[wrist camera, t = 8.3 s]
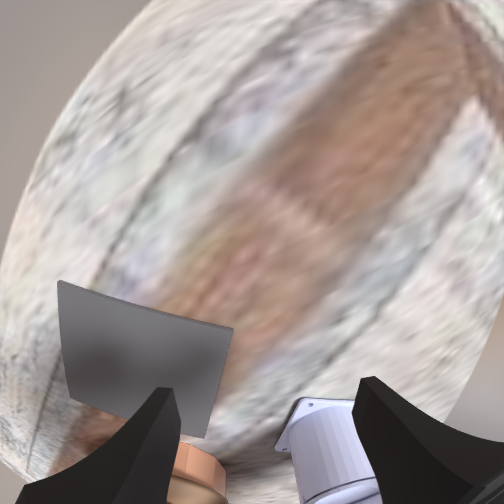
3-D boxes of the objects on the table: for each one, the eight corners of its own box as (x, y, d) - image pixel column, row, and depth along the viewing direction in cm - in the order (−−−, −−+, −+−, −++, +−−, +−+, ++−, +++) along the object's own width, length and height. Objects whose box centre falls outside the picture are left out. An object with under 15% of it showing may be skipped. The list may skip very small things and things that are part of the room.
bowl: (234, 451, 24) (234, 490, 19) (215, 495, 27) (213, 524, 22) (112, 422, 22) (98, 457, 18) (121, 474, 25) (112, 501, 21)
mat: (233, 328, 20) (233, 331, 19) (204, 435, 23) (204, 438, 22) (59, 280, 18) (57, 281, 18) (71, 395, 21) (70, 397, 21)
